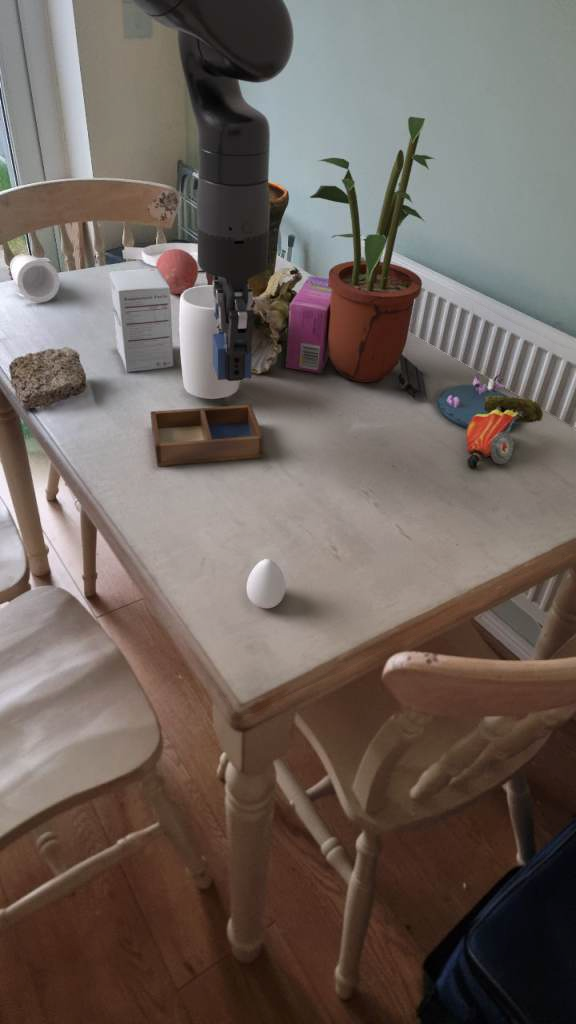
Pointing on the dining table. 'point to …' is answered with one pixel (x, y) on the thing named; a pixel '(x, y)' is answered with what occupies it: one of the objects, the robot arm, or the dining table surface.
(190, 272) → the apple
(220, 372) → the block
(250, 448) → the sorter
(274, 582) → the egg
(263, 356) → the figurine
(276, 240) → the vessel
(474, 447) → the figurine
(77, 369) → the stone
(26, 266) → the downlight
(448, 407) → the blue flower bed
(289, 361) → the box
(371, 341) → the potted plant
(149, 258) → the two-handled dish
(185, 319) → the cup
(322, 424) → the dining table surface
